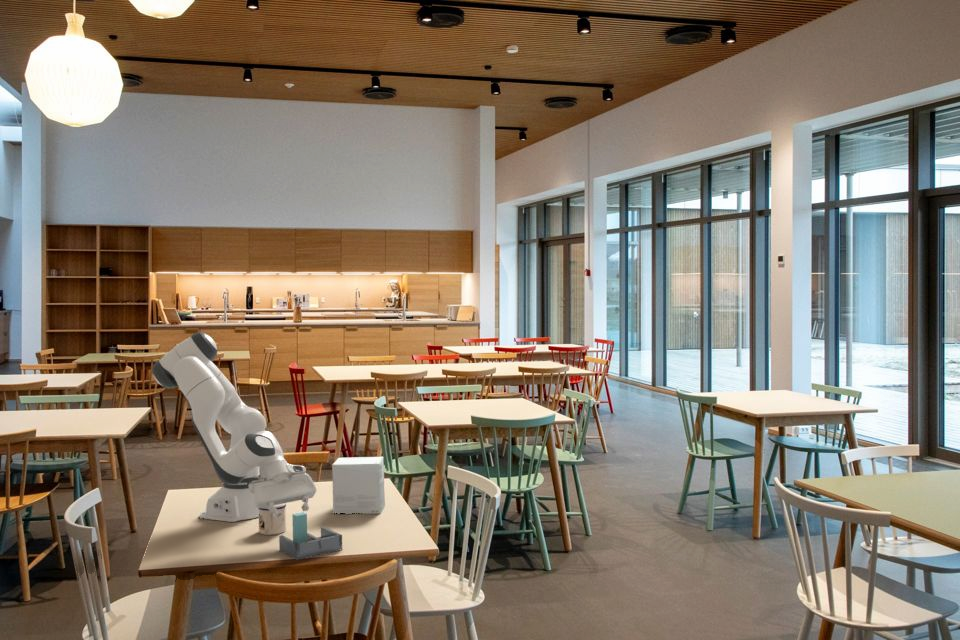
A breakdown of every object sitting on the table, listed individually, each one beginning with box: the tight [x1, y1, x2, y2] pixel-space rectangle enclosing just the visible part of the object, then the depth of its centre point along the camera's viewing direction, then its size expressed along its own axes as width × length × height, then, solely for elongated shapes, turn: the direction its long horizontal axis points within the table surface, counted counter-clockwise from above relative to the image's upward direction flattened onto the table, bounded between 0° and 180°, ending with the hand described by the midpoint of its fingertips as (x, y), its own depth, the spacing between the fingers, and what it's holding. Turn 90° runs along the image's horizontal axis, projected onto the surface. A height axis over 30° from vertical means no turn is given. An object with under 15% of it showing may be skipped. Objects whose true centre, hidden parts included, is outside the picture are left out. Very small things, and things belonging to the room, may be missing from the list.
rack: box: [278, 526, 343, 561], centre depth 249 cm, size 12×15×4 cm
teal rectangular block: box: [291, 511, 308, 544], centre depth 247 cm, size 2×4×10 cm
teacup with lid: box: [258, 503, 287, 536], centre depth 268 cm, size 12×9×12 cm
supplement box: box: [331, 456, 386, 515], centre depth 295 cm, size 17×13×18 cm
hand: (292, 512), depth 253 cm, fingers open, 8 cm apart
